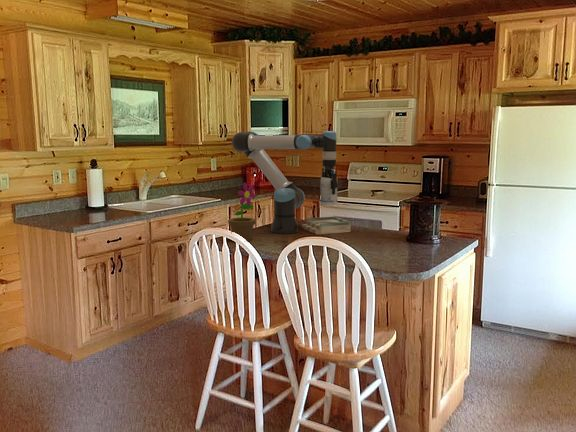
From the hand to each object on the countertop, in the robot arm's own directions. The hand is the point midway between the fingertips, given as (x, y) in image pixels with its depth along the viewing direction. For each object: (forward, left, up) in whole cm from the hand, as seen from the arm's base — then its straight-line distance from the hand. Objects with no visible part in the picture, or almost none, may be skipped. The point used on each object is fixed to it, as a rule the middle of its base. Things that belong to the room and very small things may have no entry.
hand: (328, 199), depth 305 cm
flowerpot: (+8, -53, -18) cm, 57 cm away
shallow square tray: (0, -2, -18) cm, 18 cm away
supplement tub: (0, 0, -3) cm, 3 cm away
